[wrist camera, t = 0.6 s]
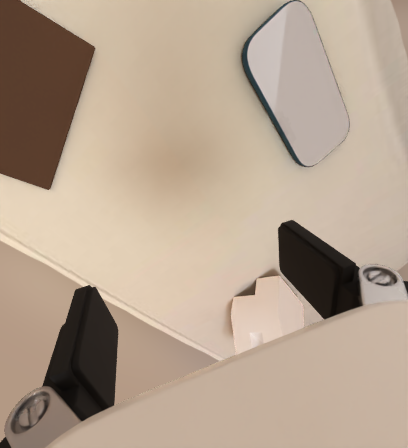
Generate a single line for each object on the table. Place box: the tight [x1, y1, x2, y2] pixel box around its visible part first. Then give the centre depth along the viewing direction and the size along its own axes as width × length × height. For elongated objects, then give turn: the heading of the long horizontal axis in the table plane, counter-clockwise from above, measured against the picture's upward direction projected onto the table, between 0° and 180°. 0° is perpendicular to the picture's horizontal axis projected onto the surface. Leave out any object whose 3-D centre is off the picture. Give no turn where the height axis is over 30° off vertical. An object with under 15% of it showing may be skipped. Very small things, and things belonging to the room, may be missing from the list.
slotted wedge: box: [231, 275, 304, 355], centre depth 52 cm, size 14×11×18 cm
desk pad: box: [0, 0, 95, 190], centre depth 29 cm, size 20×13×1 cm, turn 151°
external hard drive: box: [242, 0, 350, 167], centre depth 38 cm, size 24×12×2 cm, turn 39°
